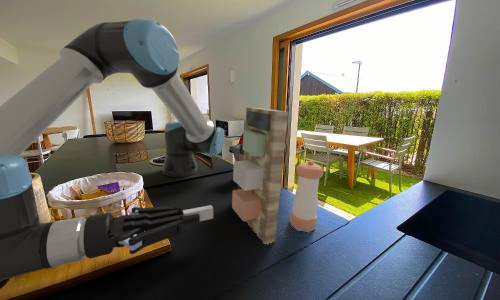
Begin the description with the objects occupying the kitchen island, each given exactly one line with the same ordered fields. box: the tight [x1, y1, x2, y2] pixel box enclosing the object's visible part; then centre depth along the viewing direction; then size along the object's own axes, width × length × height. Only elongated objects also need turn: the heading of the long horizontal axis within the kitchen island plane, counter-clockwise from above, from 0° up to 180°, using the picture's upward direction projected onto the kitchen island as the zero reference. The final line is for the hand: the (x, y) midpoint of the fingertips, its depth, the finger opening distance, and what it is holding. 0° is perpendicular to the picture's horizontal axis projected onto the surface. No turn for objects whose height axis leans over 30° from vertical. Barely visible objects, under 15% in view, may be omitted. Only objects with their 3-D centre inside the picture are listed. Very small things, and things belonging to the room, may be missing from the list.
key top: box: [242, 129, 266, 157], centre depth 50 cm, size 7×5×5 cm
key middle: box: [232, 160, 264, 191], centre depth 51 cm, size 7×5×5 cm
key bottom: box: [231, 189, 261, 222], centre depth 53 cm, size 7×5×5 cm
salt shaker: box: [289, 160, 324, 231], centre depth 56 cm, size 7×7×19 cm
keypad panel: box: [244, 107, 289, 245], centre depth 52 cm, size 14×4×32 cm, turn 27°
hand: (212, 211), depth 48 cm, fingers closed
